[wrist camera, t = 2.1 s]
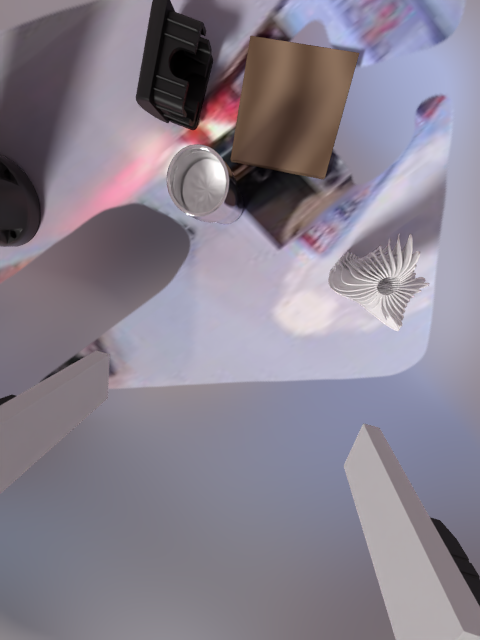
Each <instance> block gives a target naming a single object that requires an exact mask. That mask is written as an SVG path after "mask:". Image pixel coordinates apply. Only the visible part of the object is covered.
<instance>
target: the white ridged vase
mask: <svg viewBox="0 0 480 640" xmlns="http://www.w3.org/2000/svg"><path fill="white" fill-rule="evenodd" d="M390 241H391V239H389V241H388V245H387V246H386V247H385V248H384V249H383V250H382V246H381V245H380V246H379V247H378V248H377V249H376V250H375V251H374V252H372V253H369V254H368V255H366V256H364V257H363V258H358V257H357V256H356V255H353V253H351V254H350V252H349V251H348V252H347V254H344V255H343V256H342V257H341V259H340V260H339V262H337V264H335V266H333V268H332V269H331V270H330V272H329V280H328V282H329V286H330V288H331V289H332V290H333V291H334V292H336V293H337V294H339V295H341V296H344V297H346V298H348V299H351V300H353V301H355V302H357V303H358V304H360V305H361V306H362V307H363V308H365V309H366V310H367V311H368V312H369V313H371V314H372V315H373V316H375V317H376V318H377V319H379V320H380V321H381V322H382V323H384V324H385V325H387V326H389V327H391V328H392V329H394V330H395V331H399V330H400V329H399V328H400V327H401V326H402V322H401V320H403V318H404V317H403V315H402V314H403V313H404V312H405V309H404V308H406V306H407V304H406V303H408V302H409V301H410V298H413V297H414V295H413V294H416V293H419V292H421V290H419V289H421V288H424V287H427V286H429V283H424V282H425V278H423V277H419V278H416V279H415V274H416V273H413V272H414V269H415V268H416V262H417V261H418V259H419V256H420V252H419V251H417V252H415V253H413V254H412V246H413V241H412V234H410V235H409V238H408V241H407V244H406V246H405V248H404V249H403V251H402V252H401V246H400V234H398V240H397V244H396V246H395V248H394V249H393V250H392V251H391V248H390ZM378 250H379V251H380V252H378V253H376V252H377V251H378ZM387 250H389V253H388V254H386V255H384V253H385V252H386V251H387ZM375 253H376V254H375ZM378 255H381V256H379V257H377V256H378ZM396 255H397V256H396ZM349 256H350V257H349ZM352 256H353V257H352ZM355 256H356V258H355ZM354 258H355V259H354ZM357 258H358V259H357ZM371 258H373V259H372V260H371ZM351 259H352V260H351ZM373 260H375V261H376V262H373ZM379 260H382V261H379ZM369 263H370V264H369ZM375 264H378V265H377V266H376V265H375ZM346 266H347V267H348V268H349V269H348V268H347V267H346ZM389 266H390V267H389ZM378 267H379V268H380V269H379V268H378ZM384 267H385V268H384ZM348 270H349V271H348Z"/></svg>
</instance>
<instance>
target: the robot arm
mask: <svg viewBox="0 0 480 640" xmlns="http://www.w3.org/2000/svg"><path fill="white" fill-rule="evenodd" d="M39 221H40V206H39V201H38V197H37V194H36V191H35V189H34V187H33V185H32V183H31V181H30V180H29V178H28V177H27V175H26V174H25V173H24V172H23V170H22V169H21V168H20V167H19V166H18V165H16V164H15V163H14V162H13V161H11V160H10V159H8V158H6V157H4V156H1V155H0V246H2V247H6V246H20V245H23V244H25V243H27V242H28V241H30V240H31V239H32V237H33V236H34V235H35V233H36V231H37V229H38V226H39ZM109 356H110V354H106V353H103V352H99V351H95V352H93V353H91V354H89V355H88V356H86V357H84V358H82V359H81V360H79V361H77V362H75V363H74V364H72V365H70V366H68V367H67V368H65V369H63V370H61V371H60V372H58V373H56V374H54V375H53V376H51V377H49V378H47V379H46V380H44V381H42V382H40V383H39V384H37V385H35V386H34V387H32V388H30V389H28V390H27V391H25V392H23V393H21V394H19V395H18V396H15V395H10V396H7V397H4V398H1V399H0V494H1V492H3V491H4V490H5V489H6V488H7V487H8V486H9V485H11V484H12V483H13V482H14V481H15V480H16V479H17V478H19V477H20V476H21V475H22V474H23V473H24V472H25V471H26V470H28V469H29V468H30V467H31V466H32V465H33V464H34V463H35V462H36V461H38V460H39V459H40V458H41V457H42V456H43V455H44V454H46V453H47V452H48V451H49V450H50V449H51V448H52V447H53V446H55V444H57V443H58V442H59V441H60V440H61V439H62V438H63V437H65V436H66V435H67V434H68V433H69V432H70V431H71V430H72V429H74V427H76V426H77V425H78V424H79V423H80V422H81V421H83V420H84V419H85V418H86V417H87V416H88V415H89V414H90V413H92V412H93V411H94V410H95V409H96V408H97V407H98V406H99V405H100V404H102V403H103V402H104V401H105V400H106V399H107V398H108V379H109ZM344 469H345V472H346V475H347V479H348V482H349V485H350V488H351V492H352V495H353V498H354V502H355V505H356V508H357V512H358V515H359V519H360V522H361V525H362V529H363V532H364V535H365V539H366V542H367V545H368V548H369V552H370V555H371V558H372V562H373V565H374V568H375V572H376V575H377V578H378V582H379V585H380V588H381V592H382V595H383V598H384V602H385V605H386V608H387V611H388V615H389V618H390V621H391V625H392V628H393V632H394V635H395V638H396V640H480V579H479V575H478V573H477V572H476V570H475V569H474V567H473V565H472V564H471V563H469V559H468V557H467V555H466V554H465V552H464V551H463V549H462V547H461V546H460V544H459V542H458V541H457V539H456V538H455V537H454V536H453V534H452V533H451V532H450V531H449V530H448V529H447V528H446V526H445V525H444V524H443V523H442V522H441V521H440V520H437V519H434V518H430V517H429V515H428V514H427V512H426V510H425V509H424V506H423V505H422V503H421V501H420V499H419V498H418V496H417V494H416V492H415V491H414V489H413V487H412V485H411V483H410V481H409V480H408V478H407V476H406V474H405V473H404V471H403V469H402V467H401V465H400V464H399V462H398V460H397V459H396V457H395V455H394V453H393V451H392V449H391V448H390V446H389V444H388V442H387V441H386V439H385V437H384V435H383V433H382V432H381V430H380V428H378V427H374V426H371V425H367V424H363V425H362V428H361V430H360V432H359V434H358V436H357V438H356V440H355V443H354V445H353V447H352V449H351V451H350V454H349V456H348V458H347V460H346V462H345V464H344Z"/></svg>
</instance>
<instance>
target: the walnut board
mask: <svg viewBox="0 0 480 640" xmlns="http://www.w3.org/2000/svg"><path fill="white" fill-rule="evenodd" d="M358 56H359V53H356V52H350V51H343V50H337V49H331V48H324V47H318V46H311V45H306V44H299V43H293V42H287V41H280V40H274V39H268V38H261V37H255V36H250V43H249V49H248V55H247V61H246V67H245V74H244V80H243V86H242V92H241V98H240V105H239V111H238V117H237V123H236V129H235V135H234V142H233V148H232V154H231V161H232V162H236V163H241V164H246V165H251V166H256V167H262V168H267V169H272V170H277V171H282V172H288V173H293V174H298V175H303V176H308V177H314V178H319V179H324V178H325V176H326V172H327V168H328V165H329V161H330V157H331V154H332V150H333V147H334V143H335V139H336V135H337V132H338V128H339V125H340V121H341V118H342V114H343V110H344V107H345V103H346V99H347V96H348V92H349V89H350V85H351V81H352V78H353V74H354V70H355V67H356V63H357V60H358Z"/></svg>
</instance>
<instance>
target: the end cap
mask: <svg viewBox="0 0 480 640" xmlns="http://www.w3.org/2000/svg"><path fill="white" fill-rule="evenodd" d="M200 34H201V35H204V36H205V35H206V30H205V26H204V23H203V22H200V21H198V20H195V19H192V18H190V17H187V16H184V15H182V14H179V13H176V12H175V11H174V8H173V6H172V4H171V1H170V0H153V2H152V6H151V12H150V18H149V24H148V30H147V36H146V41H145V47H144V53H143V59H142V65H141V71H140V77H139V82H138V88H137V94H136V101H137V103H138V104H139V105H140V106H141V107H142V108H143V109H144V110H145V111H147V112H148V113H150V114H151V115H153V116H154V117H156V118H158V119H160V120H162V121H164V122H166V123H169V121H170V122H172V123H175V124H178V125H180V126H183V127H185V128H188V129H191V130H195V129H196V128H197V124H198V120H199V116H200V112H201V108H202V104H203V100H204V96H205V92H206V88H207V84H208V80H209V76H210V72H211V68H212V64H213V58H212V55H211V45H210V42H209V40H207V39H204V38H202V37H200Z"/></svg>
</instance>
